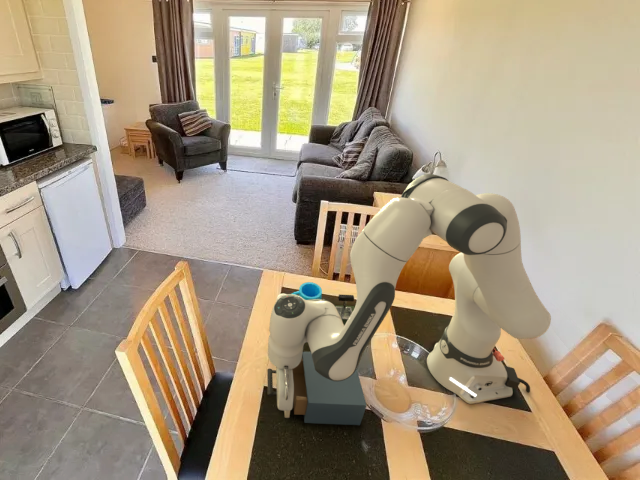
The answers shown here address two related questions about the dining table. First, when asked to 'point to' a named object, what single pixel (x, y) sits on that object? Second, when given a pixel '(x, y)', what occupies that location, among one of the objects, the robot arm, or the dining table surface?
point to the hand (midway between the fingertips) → (281, 382)
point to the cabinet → (332, 397)
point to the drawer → (299, 389)
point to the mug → (309, 291)
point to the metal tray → (344, 310)
